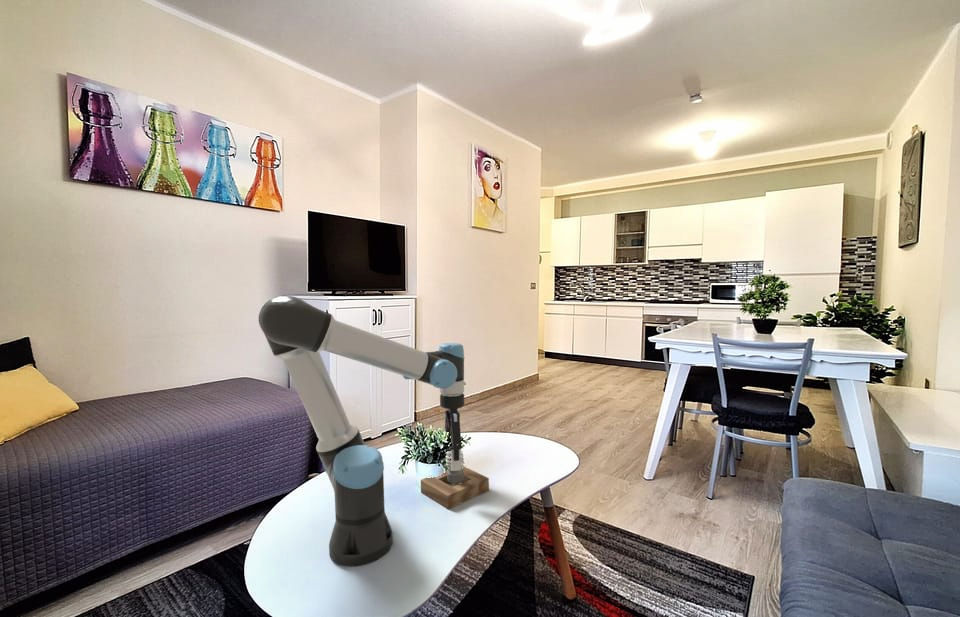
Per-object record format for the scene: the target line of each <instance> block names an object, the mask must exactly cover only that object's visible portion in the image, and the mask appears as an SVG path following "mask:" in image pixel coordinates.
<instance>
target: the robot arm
mask: <svg viewBox="0 0 960 617" xmlns="http://www.w3.org/2000/svg"><path fill="white" fill-rule="evenodd" d="M258 324H259V327H260V330H261V331H262V333H263V334H264V336H265V338H266V341H267V344H268V346H269V348H270V350H271V352H272V354H273V356H274V357H276V358H279V359H282V360H283V363H284V364H285V368H286V370H287V371H288V373H289V376H290V378H291V380H292V383H293V384H294V388H295V389H296V392H297V394H298V396H299V398H300V401H301V403H302V405H303V407H304V409H305V412H306V415H307V417H308V418H309V420H310V423H311V425H312V427H313V429H314V432H315V434H316V437H317V438H318V442H317V444H316V447H315V449H316V452H317V454H318V457H319V459H320V461H321V463H322V466H323V469H324V471H325V472H326V474H327V476H328V479H329V482H330V483H331V485H332V488H333V492H334V509H335V510H334V512H335V522H334V525H333V528H332V532H331V536H330V540H329V544H328V552H329V553H328V554H329V557H330V559H331V560H332V561H333V562H334V563H336V564H337V565H340V566H345V567H359V566H364V565H369V564H371V563H373V562H376V561H377V560H379V559H381V558H383V557H384V556H385V555H387V553H389V552H390V550H391V548H392V547H393V544H394V538H393V537H394V535H393V529H392V527H391V524H390V522H389V519H388V517H387V515H386V514H387V513H386V511H385V486H384V485H385V484H384V483H385V482H384V470H385V466H384V465H385V464H384V461H383V455H382V453H381V452H380V450H378V449H377V448H376V447H373V446H369V445H366V444H365V442H364V439H363V437H362V435H361V432H360V430H359V428H358V427H357V426H356V425H352V424H350V421H349V419H348V416H347V414H346V412H345V409H344V407H343V405H342V403H341V400H340V397H339V395H338V393H337V390H336V389H335V386H334V384H333V382H332V379H331V376H330V374H329V372H328V370H327V367H326V365H325V363H324V360H323V357H322V355H321V353H320V352H323V351H325V352H328V353H331V354H334V355H337V356H340V357H343V358H347V359H350V360H353V361H357V362H359V363H362V364H366V365H368V366H372V367H375V368H378V369H381V370H385V371H388V372H391V373H394V374H398V375H400V376H402V378H404V380H413V381H414V380H416V381H419V382H422V383H424V384H428V385H431V386H433V387H434V388H436V389H439V393H440V395H439V405H440V407H441V408H443V409H445V411H444V415H445V416H444V417H445V418H444V429H445V433H447V432H450V433H451V443H452V447H450V448H449V449H450V450H451V467H450V468H451V471H459V470H461V451H462V449H463V445H462V436H461V435H462V434H461V423H460V419H461V418H460V417H461V415H460V412H459V410H458V409H459V408H463V407H464V406H465V394H464V392H465V385H467V383H466V381H465V350H464V345H462V344H461V343H458V342H455V343H454V342H448V343H447V342H446V343H441V344H439V346H438V347H439V348H438V350H436V351H426V352H425V351H422V350H419V349H416V348H413V347H411V346H408V345H407V344H404V343H403V344H402V343H399V342H397V341H394V340H392V339H389V338H387V337H383V336H381V335H378V334H374V333H372V332H369V331H367V330H364V329H361V328H358V327H355V326H353V325H349V324H347V323H344V322H341V321H338V320H336V319H335V318H334V315H333V314H332V313H328V312H326V311H324V310H321V309H319V308H317V307H315V306H313V305H311V304H310V303H308V302H306V301H305V300H303V299H301V298H298V297H296V296H292V295H280V296H275V297H273V298H271V299H269V300H267V301H266V302H265V303H264V305H263V306H262V307H261V308H260V311H259V314H258Z"/></svg>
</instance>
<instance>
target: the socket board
mask: <svg viewBox="0 0 960 617" xmlns="http://www.w3.org/2000/svg"><path fill="white" fill-rule="evenodd" d="M462 467H463V471H464V480H463V481H462V482H460V484H459V485H456V486H454V487H453V486H452V483H449V482H448V480H447V471H446V472H445V473H443V474H442V475H441V476H438V477H433V478H432V477H431V478H427V477H424V478H422V479H420V493H421V494H422V495H424V496H426V497H427V498H429V499H431V500H432V501H434V503H435V502H436V503H437V504H439V505H440V506H442V507H443V508H445V509H447V510H450V509H452V508H454V507H455V508H456V506H459V505H460V504H463V503H465V502H467V501H469V500H471V499H474V498H476V497H479V496H480V495H483V494H485V493H487V492H490V478H489V477H487V476H486V475H483V474H480V473H478V472H477V471H474V470H473V469H470V468H468V467H466V466H464V465H463V466H462Z"/></svg>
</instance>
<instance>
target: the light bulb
mask: <svg viewBox="0 0 960 617" xmlns="http://www.w3.org/2000/svg"><path fill="white" fill-rule="evenodd" d="M463 453H464V452H463V451H462V450H461V470H459V471H451V460H450V459H451V457H449V456H451V455H450V454H451V451H447V452H446V451H445V454H446V456H445V462H446V463H445V465H446V467H447V470H448V471H447V480H448V482H449V483H452V486H453V487H454V486H456V485H459V484H460V482H462V481H463V480H464V471H463V469H462V466H464V463H465V462H464V460H465V459H464V454H463Z"/></svg>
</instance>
